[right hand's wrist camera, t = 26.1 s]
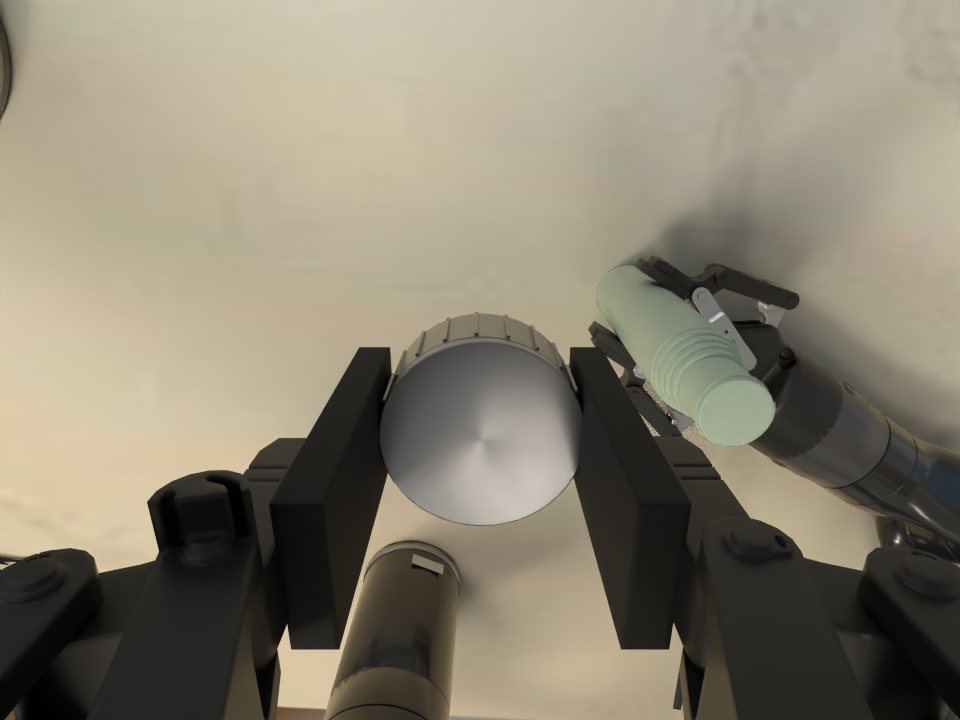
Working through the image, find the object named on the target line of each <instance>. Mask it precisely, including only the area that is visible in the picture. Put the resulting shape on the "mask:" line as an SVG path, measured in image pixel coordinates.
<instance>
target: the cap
mask: <svg viewBox="0 0 960 720" xmlns="http://www.w3.org/2000/svg"><path fill="white" fill-rule="evenodd" d="M578 393H579V391H578V388H577V386H576V383H575V381H574V378H573V376H572V373H571V370H570V368H569V366H568V365H565V363H564V361H563V359H562V357H561V356H560V354H559V353H558V351H557V348H556V345H555V344H554V343H550V341H548V340H547V339H546V338H545V337H544V336H543V335H542V334H541V333H539V332H538V331H536V330H535V329H534V326H532V325H531V326H528V325H526V324H524V323H522V322H520V321H517V320H515V319H512V318H509V317H508V316H507V315H504V316H500V315H493V314H478V312H475V314H470V315H464V316H459V317H456V318H452V319H450V318H446V321H444V322H442V323H440V324H437V325H435V326H434V327H432V328H431V329H429V330H427V331H426V332H425V331H423V332H421V336H420V337H419V338H417V339H416V340H415V341H414V343H413V344H412V345H411V346H410V347H409V348H408V350H407V351H406V350H404V351H403V353H402V356H401V358H400V361H399V364H398V367H397V369H396V372H395V374H393V373H392V376H391V378H390V381H389V384H388V386H387V389H386V392H385V394H384V397H383V400H382V403H384V405H383V408H382V411H381V415H380V421H379V446H380V452H381V456H382V459H383V462H384V465H385V467H386V469H387V471H388V473H389V475H390V477H391V478H392V480H393V482H394V483H395V484H396V486H397V487H398V488H399V489H400V490H401V492H402V493H403V494H404V495H405V496H406V497H407V498H408V499H410V500H411V501H412V502H413V503H415V504H416V505H417V506H419V507H420V508H422V509H423V510H425V511H427V512H429V513H430V514H432V515H435V516H437V517H439V518H442V519H444V520H448V521H451V522H454V523H460V524H465V525H476V526H488V525H498V524H505V523H509V522H513V521H517V520H519V519H522V518H525V517H527V516H530V515H532V514H533V513H535V512H537V511H539V510H541V509H542V508H544V507H545V506H547V505H548V504H550V503H551V502H552V501H553V500H554V499H555V498H557V497H558V496H559V495H560V494H561V493H562V492H563V490H564V489H565V488H566V487H567V486H568V484H569V483H570V481H571V480H572V478H573V477H574V475H575V473H576V471H577V469H578V467H579V465H580V454H581V440H582V426H583V411H582V407H581V404H580V401H579V399H578V396H577V394H578Z"/></svg>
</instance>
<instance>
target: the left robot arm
mask: <svg viewBox="0 0 960 720" xmlns="http://www.w3.org/2000/svg"><path fill="white" fill-rule="evenodd" d="M635 267H636V268H638V269H639V270H640V271H642V272H643V273H644V274H646V275H647V276H649V277H650V278H652V279H653V280H655V281H656V282H658V283H659V284H661V285H662V286H664V287H665V288H667V289H668V290H670V291H671V292H673V293H674V294H676V295H677V296H679V297H680V298H681V299H683V300H685V299H687V301H688V302H689V304H690V305H691V307H692V308H693V309H695V310H696V311H697V312H698V313H700V314H701V315H702V316H703V317H705V318H706V319H707V320H708V321H710V322H711V323H712V324H713V325H715V326H716V327H717V328H719V329H720V330H721V331H722V332H724V333H725V334H726V335H727V336H728V337H730V338H731V340H732V341H733V342H734V343H735V345H736V346H737V347H738V349H739V350H740V352H741V355H742V357H743V360H744V362H745V365H746V367H747V370H748V372H749V374H750V375H751V376H753V377H756V378H757V379H758V380H760V381H761V382H762V383H764V385H765V386H766V388H767V389H768V390H769V393H770V395H771V397H772V399H773V402H775V414H774V418H773V421H772V422H771V424H770V426H769V427H768V429H766V431H765V432H764V433H763V434H762V435H761V436H759V437H758V438H757V439H755V440H753V441H752V442H749V443H747V444H749V445H750V446H752V447H754V448H755V449H757V450H758V451H760V452H761V453H763V454H764V455H766V456H768V457H769V458H770V459H771V460H772V461H773V462H774V463H776V464H777V465H779V466H781V467H785V468H787V469H788V470H790V471H792V472H794V473H795V474H797V475H799V476H801V477H804V478H806V479H809V480H811V481H813V482H815V483H817V484H818V485H820V486H821V487H823V488H824V489H826V490H827V491H829V492H831V493H832V494H834V495H835V496H837V497H838V498H840V499H842V500H843V501H845V502H846V503H848V504H850V505H852V506H854V507H856V508H858V509H860V510H862V511H865V512H868V513H870V514H874V515H875V525H876V530H877V535H878V539H879V542H880V546H881V547H887V546H898V547H907V548H913V549H918V550H922V551H923V552H924V551H926V552H928V553H931V554H934V555H937V556H938V557H940V558H942V559H944V560H946V561H948V562H951V563H953V564H957V565H960V454H959V453H957V452H955V451H952V450H950V449H947V448H944V447H941V446H938V445H935V444H932V443H929V442H926V441H924V440H921V439H918V438H917V437H915V436H914V435H912V434H911V433H910V432H909V431H907V430H906V429H904V428H903V427H901V426H900V425H898V424H897V423H895V422H894V421H892V420H891V419H890V418H888V417H887V416H885V415H884V414H882V413H881V412H879V411H878V410H877V409H875V408H874V407H873V406H872V405H871V404H870V403H869V402H868V401H867V400H866V399H865V398H864V397H863V396H861V395H860V394H859V393H858V392H856V391H855V390H854V389H853V388H852V387H851V386H850V385H848V384H847V383H845V382H843V381H840V380H839V379H837V378H836V377H834V376H833V375H832V374H830V373H828V372H827V371H826V370H824V369H823V368H821V367H820V366H818V365H817V364H815V363H814V362H812V361H811V360H810V359H808V358H807V357H805V356H804V355H802V354H801V353H799V352H798V351H796V350H795V349H793V348H792V347H790V346H789V345H788V344H786V343H785V342H784V341H783V339H782V337H781V334H780V332H779V330H778V329H777V327H778V325H779V323H780V321H781V319H782V317H783V315H784V313H785V311H786V310H791V309H794V308H795V307H796V306H797V305H798V304H799V296H798V295H797V294H796V293H794V292H792V291H790V290H788V289H786V288H784V287H781V286H779V285H777V284H774V283H771V282H768V281H765V280H762V279H760V278H757V277H754V276H751V275H748V274H745V273H742V272H739V271H736V270H733V269H730V268H728V267H725V266H722V265H719V264H716V263H712V264H709V265H708V266H707V267H706V268H705V270H704V272H703V273H701V274H700V275H698V276H696V277H687V276H686V275H684V274H683V273H681V272H680V271H679V270H677V269H676V268H674V267H673V266H671V265H670V264H668V263H667V262H665V261H664V260H662V259H661V258H659V257H654V256H652V257H651V258H650V259H649V261H648V262H646V261H645V260H643V259H642V258H640V259H639V260H638V262H637V263H636V264H635ZM722 288H725V289H728V290H730V291H733V292H736V293H739V294H742V295H745V296H748V297H751V298H753V300H752V305H753V307H754V308H755V309H757V310H758V311H759V312H760V315H761V317H760V320H748V321H730V320H729V318H728V317H727V315H726V314H725V313H724V312H723V311H722V310H721V308H720V307H719V305H718V304H717V302H716V301H715V299H714V298H713V296H712V295H713V294H715V293H716V292H718V291H719V290H721V289H722ZM588 330H589V331H590V333H591V335H592V336H593V337H592V338H591V340H592V342H593V344H594V346H595V347H601V348H602V350H603V352H604V353H605V355H606V356H607V357H609V358H610V359H612V360H613V361H615V362H617V363H618V364H620V365H621V366H623V367H624V368H625V370H624V373H623V376H621V377H620V381H621V383H622V385H623V386H624V388H625V390H626V391H627V393H628V395H629V397H630V398H631V400H632V402H633V404H634V405H635V407H636V409H637V410H638V412H639V413H640V414H641V415H642V416H643V417H644V418H645V419H646V420H647V421H648V422H649V423H650V425H651V426H652V427H653V428H654V429H655V430H656V431H657V432H658V433H659V434H660V435H661V436H682V434H681V432H682V431H684V430H685V429H686V428H688V427H689V426H690V425H692V424H693V423H694V420H693V419H692V418H690V417H689V416H687V415H685V414H683V413H681V412H679V411H677V410H675V409H673V408H672V407H670V406H669V405H667V406H664V407H663V408H661V407H660V406H659V405H658V404H657V402H656V401H655V400H654V399H653V398H652V397H651V396H650V395H649V394H648V393H647V392H646V390H645V389H644V388H643V385H644V382H645V379H646V377H645V376H644V374H643V373H642V371H641V370H640V368H639V367H638V365H637V364H636V362H635V361H634V359H633V358H632V356H631V355H630V353H629V352H628V350H627V349H626V347H625V346H624V345H623V343H622V342H621V340H620V339H619V337H618V336H617V335H616V334H614V333H613V332H611V331H610V330H608V329H606V328H605V327H603V326H602V325H600V324H599V323H597V322H595V321H594V322H593V323H592V325H591V326H590V327H589V329H588ZM646 380H647V379H646ZM459 592H460V576H459V572H458V570H457V568H456V566H455V564H454V562H453V561H452V560H451V559H450V558H449V557H448V556H447V555H446V554H445V553H443V552H442V551H441V550H439V549H437V548H435V547H433V546H430V545H427V544H424V543H419V542H402V543H396V544H393V545H390V546H388V547H386V548H384V549H382V550H381V551H379V552H378V553H377V554H376V555H375V556H374V557H373V558H372V559H371V561H370V562H369V564H368V566H367V569H366V572H365V576H364V581H363V586H362V590H361V593H360V596H359V599H358V603H357V606H356V610H355V613H354V617H353V620H352V623H351V627H350V630H349V634H348V637H347V641H346V644H345V647H344V651H343V654H342V658H341V661H340V664H339V668H338V671H337V675H336V678H335V682H334V685H333V688H332V692H331V695H330V699H329V703H328V706H327V710H326V713H325V717H324V720H449V713H450V699H451V686H452V672H453V659H454V645H455V632H456V618H457V606H458V597H459ZM946 718H947V719H948V720H959V718H958V717H957V716H956V715H955V714H954V712H953V711H952V710H951V709H950V708H949V709H948V712H947V714H946Z"/></svg>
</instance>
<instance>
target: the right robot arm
mask: <svg viewBox="0 0 960 720" xmlns="http://www.w3.org/2000/svg"><path fill="white" fill-rule="evenodd" d="M9 83H10V62H9V54H8V47H7V43H6V39H5V35H4V32H3V29H2V26H1V23H0V115H1V113H2V111H3V108H4V106H5V103H6V99H7V95H8V91H9ZM569 368H570V370H571V373H572V376H573V378H574V381H575V383H576V386H577V388H578V391H579V393H578V394H577V396H578V399H579V401H580V404H581V407H582V411H583V426H582V440H581V454H580V465H579V467H578V469H577V471H576V473H575V475H574V480H575V484H576V488H577V491H578V495H579V498H580V502H581V506H582V509H583V513H584V517H585V520H586V524H587V527H588V531H589V535H590V538H591V542H592V545H593V549H594V553H595V556H596V560H597V564H598V567H599V571H600V574H601V578H602V582H603V585H604V589H605V593H606V596H607V600H608V603H609V607H610V611H611V614H612V618H613V622H614V625H615V629H616V632H617V636H618V640H619V643H620V647H621V649H669V647H670V640H671V634H672V627H673V622H674V624H675V627H676V629H677V632H678V634H679V637H680V639H681V642H682V644H683V651H682V657H681V663H680V669H679V675H678V681H677V687H676V693H675V699H674V706H673V709H678V710H681V706H682V702H683V711H684V720H948V719H947V718H946V714H947V712H948V709H949V708H950V709H951V710H952V711H953V712H954V714H955V715H956V716H957V717H958V718H959V720H960V567H958V566H957V565H955V564H953V563H951V562H948V561H946V560H944V559H942V558H940V557H938V556H937V555H934V554H931V553H928V552H926V551H924V552H923V551H922V550H918V549H913V548H907V547H898V546H887V547H881V548H876V549H874V550H873V551H872V552H871V553H869V554H868V555H867V558H866V561H865V565H864V568H863V571H860V570H855V569H850V568H846V567H841V566H836V565H831V564H826V563H821V562H818V561H814V560H810V559H807V558H804V557H803V555H802V552H801V550H800V549H799V548H798V546H797V545H796V544H795V542H794V541H793V540H792V539H791V538H790V537H789V536H787V535H786V534H785V533H783V532H782V531H780V530H779V529H778V528H775V527H773V526H771V525H769V524H766V523H764V522H762V521H759V520H755V519H750V517H749V516H748V514H747V513H746V512H745V510H744V509H743V507H742V506H741V505H740V503H739V502H738V500H737V499H736V498H735V496H734V495H733V493H732V492H731V491H730V489H729V488H728V486H727V485H726V483H725V482H724V481H723V480H721V476H720V475H719V474H718V472H717V471H716V469H715V468H714V467H712V464H711V462H710V461H709V460H708V458H707V457H706V455H705V454H704V453H703V451H702V450H701V449H700V448H698V447H697V446H695V445H694V444H692V443H691V442H689V441H688V440H686V439H685V438H683V437H682V436H652V435H651V433H650V431H649V429H648V428H647V426H646V424H645V422H644V421H643V419H642V417H641V416H640V414H639V412H638V410H637V409H636V407H635V405H634V404H633V402H632V400H631V398H630V397H629V395H628V393H627V391H626V390H625V388H624V386H623V385H622V383H621V381H620V379H619V378H618V376H617V374H616V372H615V371H614V369H613V367H612V366H611V364H610V362H609V360H608V359H607V357H606V355H605V353H604V352H603V350H602V348H601V347H570V362H569ZM391 376H392V373H391V356H390V347H359V349H358V351H357V352H356V354H355V356H354V358H353V359H352V361H351V363H350V364H349V366H348V368H347V370H346V371H345V373H344V375H343V377H342V378H341V380H340V382H339V383H338V385H337V387H336V389H335V390H334V392H333V394H332V396H331V397H330V399H329V401H328V402H327V404H326V406H325V408H324V409H323V411H322V413H321V415H320V416H319V418H318V420H317V421H316V423H315V425H314V427H313V428H312V430H311V432H310V434H309V435H308V437H307V438H278V439H277V440H275V441H274V442H272V443H271V444H269V445H268V446H266V447H265V448H263V449H262V450H260V451H259V453H258V454H257V455H256V457H255V458H254V460H253V461H252V463H251V464H250V465H249V469H247V470H246V471H245V472H244V474H243V475H242V474H240V473H236V472H232V471H228V470H214V471H205V472H200V473H195V474H190V475H187V476H185V477H182V478H180V479H177V480H174V481H172V482H170V483H169V484H167V485H165V486H164V487H162V488H161V489H159V490H157V491H156V492H155V493H154V495H153V496H152V497H151V498H150V499H149V500H148V501H147V504H148V508H149V512H150V516H151V520H152V524H153V528H154V532H155V536H156V540H157V545H158V549H159V553H158V556H157V558H156V560H155V561H152V562H148V563H145V564H141V565H136V566H132V567H127V568H122V569H117V570H112V571H108V572H103V573H98V570H97V566H96V563H95V560H94V557H92V556H91V555H90V554H89V553H88V552H86V551H84V550H78V549H72V548H68V549H59V550H50V551H46V552H41V553H40V554H34V555H32V556H29V557H26V558H24V559H23V560H20V561H18V562H16V563H14V564H12V565H10V566H8V567H6V568H4V569H3V570H1V571H0V720H5V718H6V717H7V716H8V715H9V714H10V712H11V711H12V710H13V713H14V715H15V718H16V719H15V720H276V713H277V703H278V694H279V685H280V675H281V670H280V663H279V657H278V651H277V648H278V645H279V643H280V640H281V638H282V635H283V633H284V630H285V628H286V625H288V631H289V638H290V644H291V649H339V648H340V645H341V641H342V637H343V634H344V630H345V627H346V623H347V619H348V616H349V612H350V608H351V605H352V601H353V598H354V594H355V590H356V587H357V583H358V579H359V576H360V572H361V569H362V565H363V561H364V558H365V554H366V550H367V547H368V543H369V540H370V536H371V532H372V529H373V525H374V521H375V518H376V514H377V511H378V507H379V503H380V500H381V496H382V492H383V489H384V485H385V482H386V478H387V474H388V471H387V469H386V467H385V465H384V462H383V459H382V456H381V452H380V446H379V421H380V415H381V411H382V408H383V405H384V403H382V400H383V397H384V394H385V392H386V389H387V386H388V384H389V381H390V378H391Z"/></svg>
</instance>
